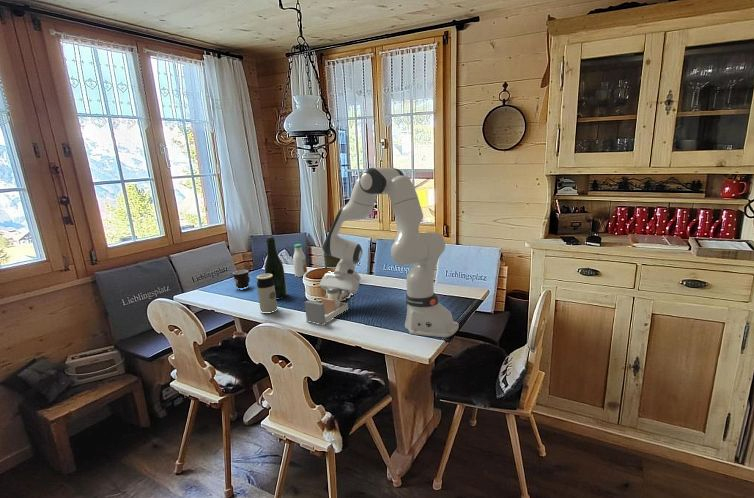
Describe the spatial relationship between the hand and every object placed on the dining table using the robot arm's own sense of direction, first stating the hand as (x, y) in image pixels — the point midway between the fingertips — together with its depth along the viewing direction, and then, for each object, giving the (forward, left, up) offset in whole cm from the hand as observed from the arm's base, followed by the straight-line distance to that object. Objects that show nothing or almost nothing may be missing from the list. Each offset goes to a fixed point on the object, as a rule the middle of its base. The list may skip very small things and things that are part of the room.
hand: (333, 298), depth 190 cm
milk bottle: (+56, -40, -7) cm, 69 cm away
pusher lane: (0, +5, -7) cm, 8 cm away
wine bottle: (+42, -5, -7) cm, 43 cm away
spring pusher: (0, +4, -6) cm, 7 cm away
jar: (0, -1, -6) cm, 6 cm away
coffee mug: (+71, -7, -7) cm, 72 cm away
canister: (+28, -38, -7) cm, 48 cm away
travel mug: (+31, +12, -7) cm, 34 cm away
